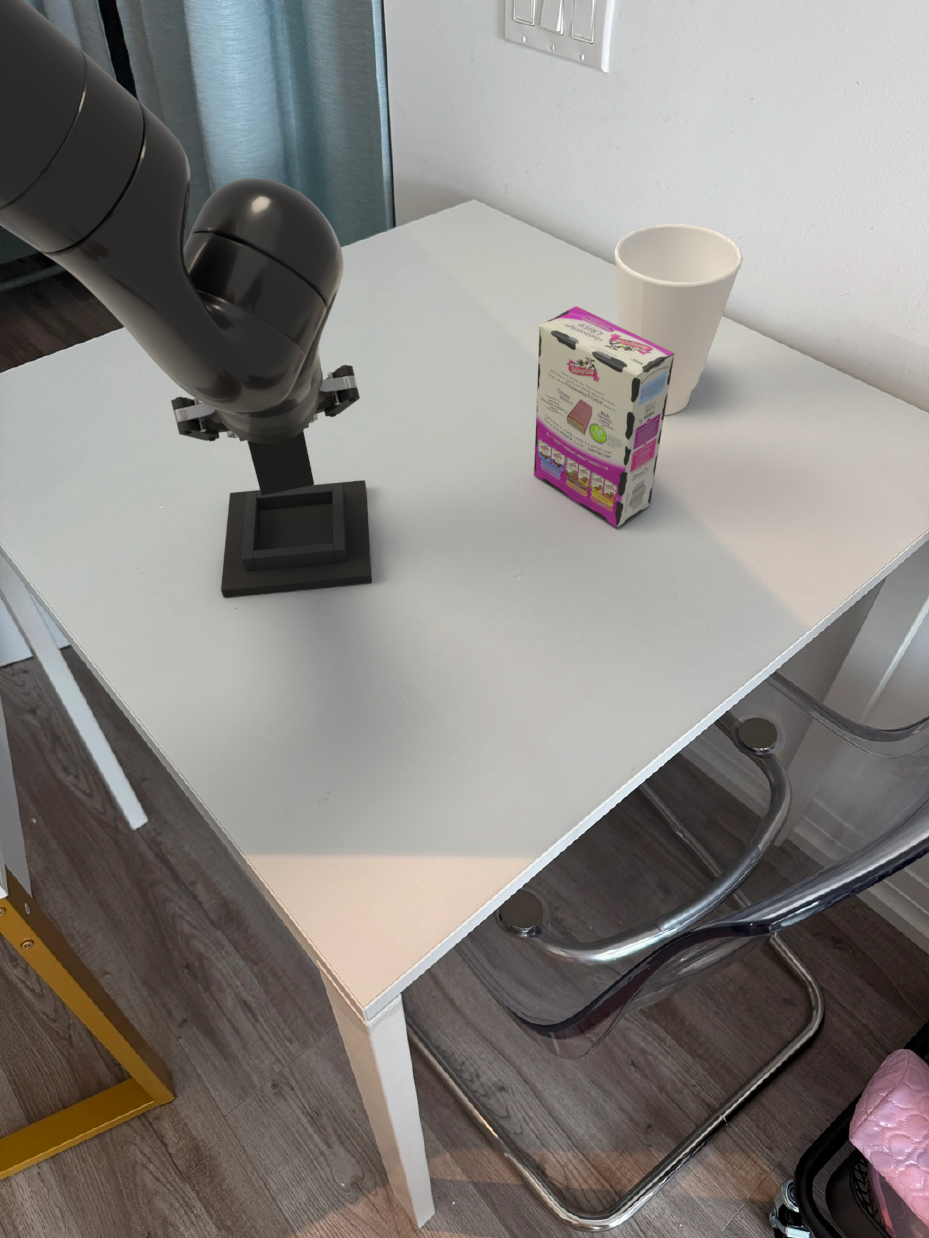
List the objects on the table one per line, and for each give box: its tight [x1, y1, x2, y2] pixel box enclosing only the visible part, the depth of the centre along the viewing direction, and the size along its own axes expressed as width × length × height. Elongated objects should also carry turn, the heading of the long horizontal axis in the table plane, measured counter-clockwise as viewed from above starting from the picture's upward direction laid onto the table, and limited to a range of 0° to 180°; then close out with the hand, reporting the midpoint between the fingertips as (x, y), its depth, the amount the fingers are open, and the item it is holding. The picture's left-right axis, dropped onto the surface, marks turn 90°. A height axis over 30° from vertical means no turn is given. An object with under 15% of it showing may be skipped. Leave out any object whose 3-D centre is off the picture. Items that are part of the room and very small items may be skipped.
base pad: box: [220, 479, 373, 598], centre depth 83 cm, size 13×13×2 cm
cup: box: [614, 223, 744, 416], centre depth 91 cm, size 12×12×16 cm
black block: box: [246, 430, 315, 496], centre depth 75 cm, size 4×4×8 cm
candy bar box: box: [533, 305, 675, 528], centre depth 81 cm, size 11×5×16 cm, turn 43°
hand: (271, 422), depth 76 cm, fingers closed on black block, 4 cm apart
